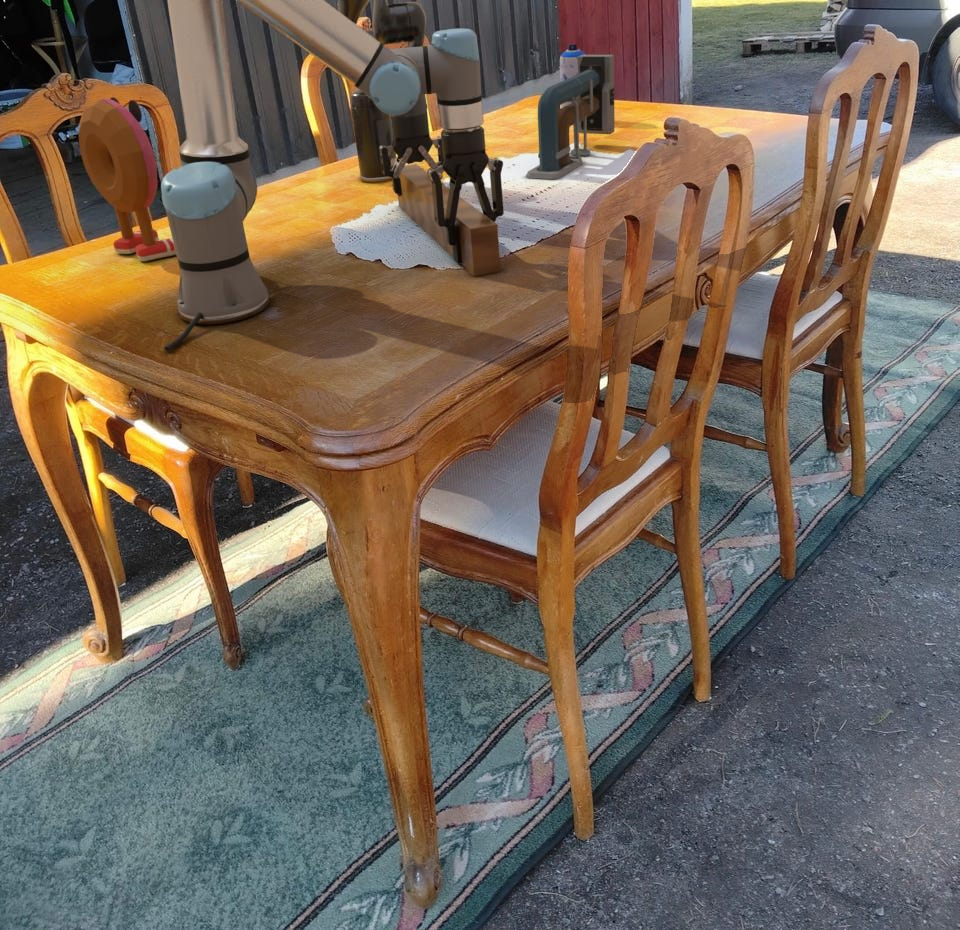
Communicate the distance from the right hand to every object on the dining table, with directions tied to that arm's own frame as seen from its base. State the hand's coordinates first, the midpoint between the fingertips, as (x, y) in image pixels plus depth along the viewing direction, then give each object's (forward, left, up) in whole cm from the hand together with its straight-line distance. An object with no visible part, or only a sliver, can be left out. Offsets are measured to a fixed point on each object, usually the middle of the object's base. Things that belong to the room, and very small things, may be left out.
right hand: (417, 192), depth 205 cm
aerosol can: (-66, +66, -5) cm, 93 cm away
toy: (-5, -56, -5) cm, 57 cm away
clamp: (-23, +46, -5) cm, 51 cm away
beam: (+17, 0, -5) cm, 18 cm away
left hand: (+35, 0, -4) cm, 36 cm away
